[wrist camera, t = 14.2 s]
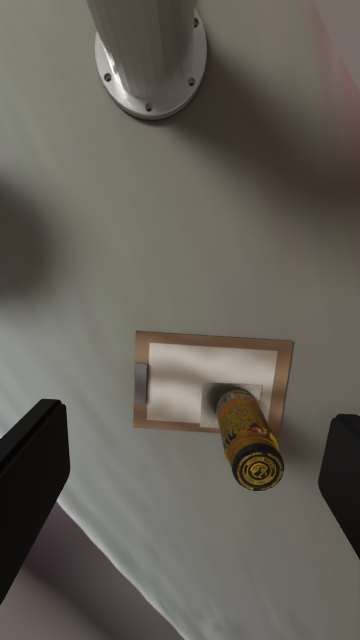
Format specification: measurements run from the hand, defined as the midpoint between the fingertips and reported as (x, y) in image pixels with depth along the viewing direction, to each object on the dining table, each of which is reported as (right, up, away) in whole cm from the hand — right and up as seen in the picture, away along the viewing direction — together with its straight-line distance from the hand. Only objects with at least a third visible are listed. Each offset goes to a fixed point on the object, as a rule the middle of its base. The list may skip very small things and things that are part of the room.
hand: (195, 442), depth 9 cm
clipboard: (+4, -5, +28) cm, 29 cm away
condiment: (+7, -8, +28) cm, 30 cm away
